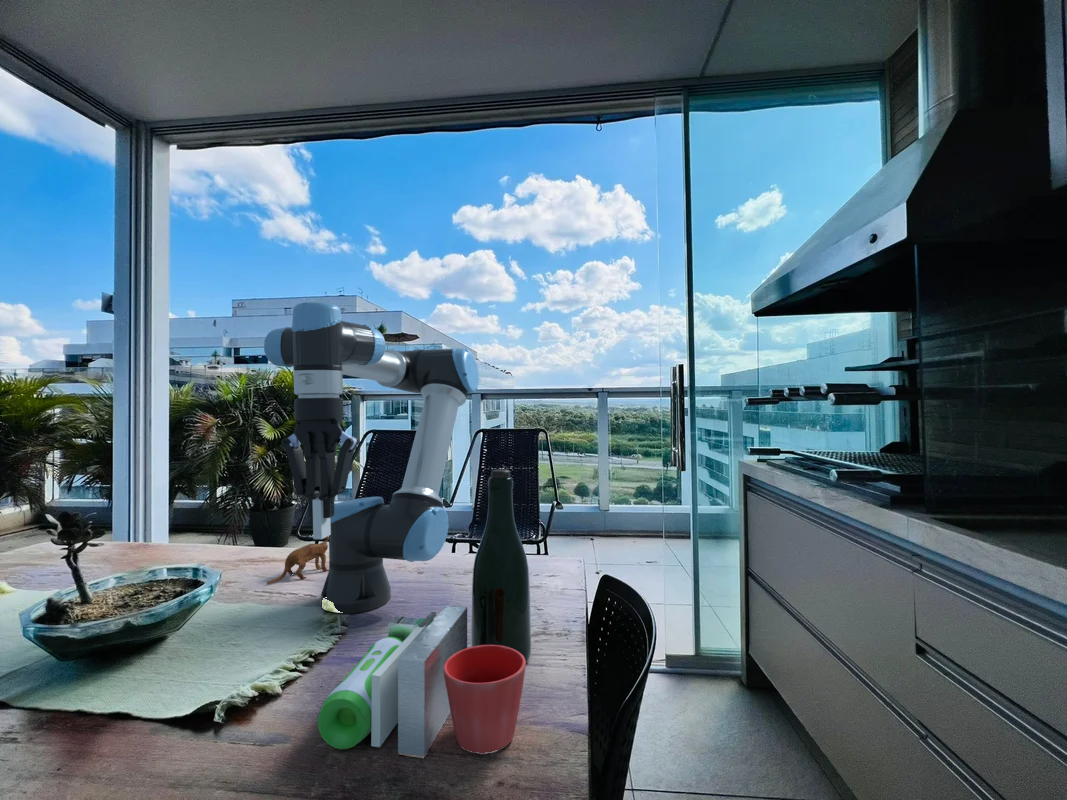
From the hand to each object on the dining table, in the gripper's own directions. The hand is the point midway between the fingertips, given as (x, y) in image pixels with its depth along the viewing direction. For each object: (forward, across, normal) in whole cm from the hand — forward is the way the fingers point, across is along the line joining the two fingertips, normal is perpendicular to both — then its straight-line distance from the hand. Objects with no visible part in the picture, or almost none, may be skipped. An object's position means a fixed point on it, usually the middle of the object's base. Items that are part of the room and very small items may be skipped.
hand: (322, 536), depth 83 cm
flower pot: (+22, +31, -13) cm, 40 cm away
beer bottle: (+23, +29, +7) cm, 38 cm away
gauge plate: (+22, +18, -8) cm, 29 cm away
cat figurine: (+24, -33, +43) cm, 59 cm away
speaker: (+22, +13, -10) cm, 28 cm away
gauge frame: (+22, +18, -8) cm, 30 cm away
